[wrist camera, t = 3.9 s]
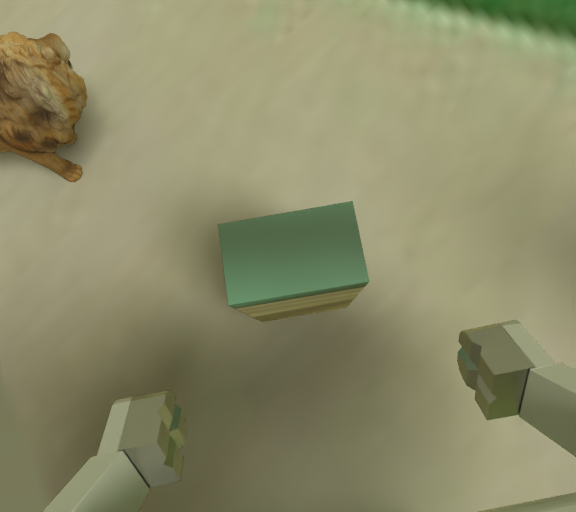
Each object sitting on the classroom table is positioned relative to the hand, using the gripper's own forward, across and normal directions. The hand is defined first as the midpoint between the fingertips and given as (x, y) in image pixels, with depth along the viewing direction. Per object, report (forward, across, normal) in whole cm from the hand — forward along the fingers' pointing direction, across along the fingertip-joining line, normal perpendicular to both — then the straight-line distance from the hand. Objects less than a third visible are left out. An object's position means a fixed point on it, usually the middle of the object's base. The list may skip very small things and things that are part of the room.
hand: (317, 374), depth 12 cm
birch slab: (+12, 0, -6) cm, 13 cm away
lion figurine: (+21, -16, +3) cm, 26 cm away
